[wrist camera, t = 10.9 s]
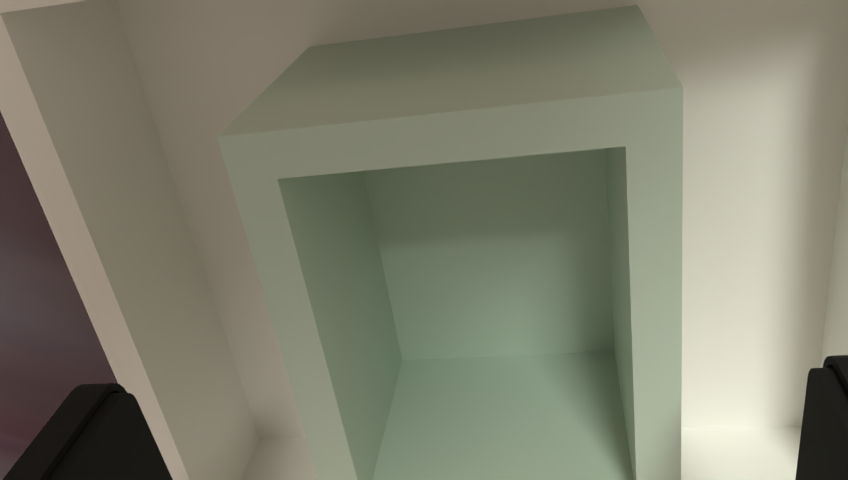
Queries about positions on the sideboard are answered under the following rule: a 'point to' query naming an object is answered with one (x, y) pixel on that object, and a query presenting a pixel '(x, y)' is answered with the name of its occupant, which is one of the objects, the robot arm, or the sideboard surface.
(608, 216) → the small crate
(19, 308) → the sideboard surface
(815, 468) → the robot arm
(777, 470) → the big crate
